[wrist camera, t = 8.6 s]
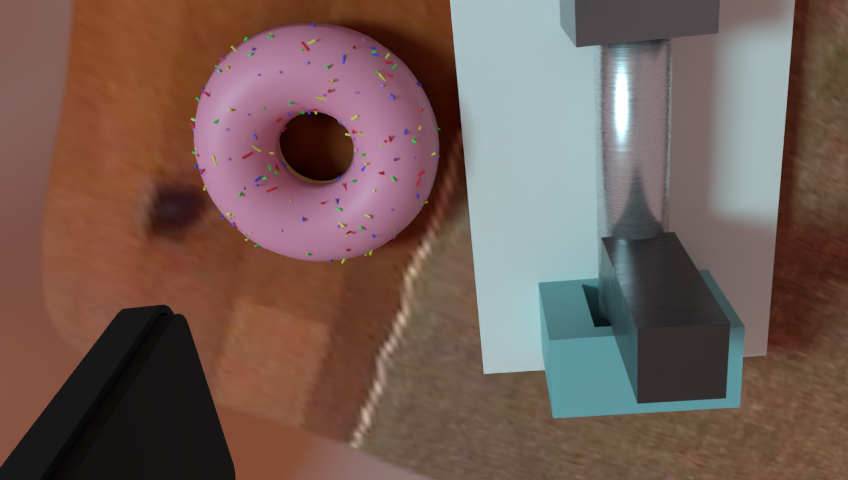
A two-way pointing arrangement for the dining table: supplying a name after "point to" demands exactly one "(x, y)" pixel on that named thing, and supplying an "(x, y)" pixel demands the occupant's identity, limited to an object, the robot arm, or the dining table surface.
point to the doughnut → (315, 92)
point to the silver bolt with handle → (649, 235)
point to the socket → (609, 355)
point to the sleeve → (636, 20)
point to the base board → (576, 160)
